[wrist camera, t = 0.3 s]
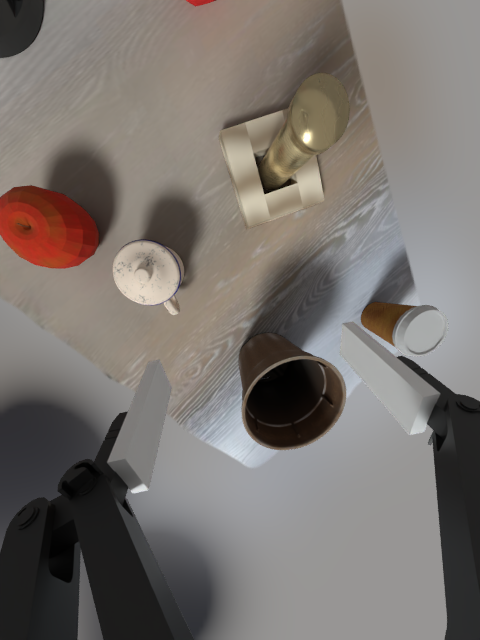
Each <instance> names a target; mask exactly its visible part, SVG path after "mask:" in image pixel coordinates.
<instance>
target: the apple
mask: <svg viewBox="0 0 480 640" xmlns="http://www.w3.org/2000/svg"><path fill="white" fill-rule="evenodd" d="M0 235H1V236H2V238H3V240H4V241H5V242H6V243H7V245H8V246H9V247H10V248H11V249H12V250H13V251H14V252H15V253H16V254H18V255H19V256H20V257H21V258H23V259H25V260H27V261H29V262H31V263H33V264H35V265H38V266H43V267H48V268H69V267H73V266H78V265H80V264H81V263H82V262H84V261H85V260H86V259H88V258H89V257H91V256H92V255H94V253H95V251H96V249H97V247H98V243H99V232H98V229H97V226H96V223H95V221H94V220H93V219H92V218H91V216H90V215H89V214H88V213H87V212H86V211H85V210H84V209H83V208H82V207H81V206H80V205H78V204H77V203H76V202H74V201H73V200H71V199H70V198H68V197H67V196H66V195H64V194H61V193H57V192H54V191H50V190H46V189H43V188H39V187H35V186H32V185H31V186H22V187H14V188H12V189H11V190H9V191H8V192H7V193H5V194H4V195H2V196H1V197H0Z"/></svg>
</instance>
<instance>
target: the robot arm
mask: <svg viewBox="0 0 480 640" xmlns="http://www.w3.org/2000/svg"><path fill="white" fill-rule="evenodd" d="M42 15H43V0H0V58H4V57H10V56H13V55H16V54H18V53H20V52H22V51H23V50H25V49H26V48H27V47H28V46H29V45H30V44H31V43H32V42H33V40H34V39H35V37H36V35H37V33H38V31H39V28H40V25H41V21H42ZM340 355H341V356H342V357H343V359H344V360H345V361H346V362H347V363H348V364H349V365H350V367H351V368H352V369H353V370H354V371H355V372H356V374H357V375H358V376H359V377H360V378H361V379H362V381H363V382H364V383H365V384H366V385H367V386H368V388H369V389H370V390H371V391H372V392H373V393H374V394H375V396H376V397H377V398H378V399H379V400H380V402H382V404H383V405H384V406H385V407H386V408H387V410H388V411H389V412H390V413H391V414H392V415H393V417H394V418H395V419H396V420H397V421H398V422H399V424H400V425H401V426H402V427H403V428H404V429H405V431H406V432H407V433H408V434H409V435H412V434H417V433H421V432H424V431H425V428H426V426H427V424H428V425H429V426H430V427H431V428H432V429H433V430H434V431H433V433H432V435H431V437H430V439H429V442H428V444H429V445H431V444H432V442H433V451H434V464H435V476H436V487H437V500H438V512H439V524H440V536H441V548H442V560H443V571H444V572H443V573H444V584H445V597H446V608H447V630H446V635H445V640H480V401H478V400H476V399H474V398H472V397H469V396H466V395H460V394H455V393H454V392H452V391H451V390H450V389H449V388H447V387H446V386H445V385H443V384H442V383H441V382H440V381H438V380H437V379H436V378H434V377H433V376H432V375H430V374H428V373H427V372H426V371H425V370H424V369H423V368H421V367H420V366H419V365H417V364H416V363H415V362H414V361H412V360H410V359H408V358H406V357H403V356H399V357H395V356H394V355H393V354H392V353H391V352H389V351H388V350H387V349H386V348H384V347H383V346H382V345H381V344H380V343H378V342H377V341H376V340H375V339H373V338H372V337H371V336H370V335H369V334H367V333H366V332H365V331H364V330H363V329H361V328H360V327H359V326H358V325H356V324H355V323H354V322H348V323H343V324H342V335H341V346H340ZM171 389H172V387H171V385H170V382H169V380H168V378H167V376H166V373H165V371H164V369H163V366H162V364H161V362H160V360H155V361H150V362H148V364H147V367H146V369H145V372H144V374H143V377H142V379H141V381H140V384H139V386H138V389H137V391H136V393H135V396H134V398H133V401H132V403H131V406H130V408H129V410H128V412H124V413H120V414H119V415H118V416H117V417H116V418H115V420H114V421H113V422H112V424H111V426H110V429H109V431H108V433H107V435H106V437H105V441H103V444H102V446H101V448H100V450H99V452H98V455H97V456H96V459H95V461H94V462H93V461H92V460H90V459H85V460H82V461H79V462H78V463H76V464H74V465H73V466H72V467H71V468H70V469H69V470H67V471H66V473H65V474H64V475H63V477H62V478H61V480H60V482H59V484H58V492H60V493H61V494H62V495H61V496H59V497H57V498H55V499H53V500H51V501H48V500H47V499H46V498H44V497H43V498H37V499H35V500H33V501H31V502H29V503H28V504H27V505H25V506H24V507H23V508H22V509H21V510H20V511H19V512H18V513H17V514H16V515H15V517H14V518H13V519H12V521H11V522H10V524H9V526H8V528H7V531H6V534H5V538H4V541H3V545H2V549H1V552H0V640H77V636H78V606H79V579H80V550H82V555H83V558H84V563H85V566H86V571H87V575H88V579H89V583H90V587H91V590H92V595H93V599H94V603H95V607H96V611H97V615H98V619H99V623H100V627H101V631H102V635H103V639H104V640H194V638H193V636H192V634H191V632H190V630H189V628H188V626H187V624H186V622H185V620H184V617H183V615H182V613H181V611H180V609H179V607H178V605H177V603H176V601H175V598H174V597H173V594H172V592H171V590H170V588H169V586H168V584H167V582H166V579H165V577H164V575H163V573H162V571H161V569H160V567H159V565H158V563H157V561H156V558H155V556H154V554H153V552H152V550H151V548H150V546H149V544H148V542H147V540H146V538H145V536H144V534H143V531H142V529H141V527H140V525H139V523H138V521H137V519H136V517H135V514H134V512H133V510H132V508H131V506H130V504H129V502H128V500H127V499H126V498H125V496H126V493H127V489H128V488H129V489H130V490H131V492H132V493H137V492H142V491H147V490H149V486H150V482H151V478H152V473H153V469H154V464H155V459H156V455H157V451H158V447H159V442H160V438H161V433H162V429H163V424H164V420H165V416H166V411H167V407H168V402H169V398H170V393H171Z"/></svg>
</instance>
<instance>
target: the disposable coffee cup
mask: <svg viewBox="0 0 480 640" xmlns="http://www.w3.org/2000/svg"><path fill="white" fill-rule="evenodd" d="M361 322H362V325H363V326H364V327H365V328H367V329H368V330H370V331H372V332H373V333H375V334H376V335H378V336H379V337H381V338H382V339H384V340H385V341H387V342H389V343H390V344H392V345H393V346H395V347H396V348H397V349H398V351H399V352H400V353H402V354H404V355H407V356H417V357H421V356H426V355H428V354H430V353H432V352H433V351H434V350H436V349H437V348H438V347H439V346H440V345H441V343H442V342H443V340H444V339H445V337H446V334H447V331H448V321H447V318H446V316H445V315H444V314H443V313H442V312H441V311H439V310H438V309H437V308H435V307H433V306H429V305H422V306H411V305H400V304H391V303H381V302H374V303H371V304H369V305H368V306H367V307H366V308H365V309H364V310H363V312H362V315H361Z"/></svg>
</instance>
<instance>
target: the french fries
mask: <svg viewBox="0 0 480 640" xmlns="http://www.w3.org/2000/svg"><path fill="white" fill-rule="evenodd" d="M186 1H188V2H189V3H191V4H193V5H194V6H199V5H203V4H207V3H210V2H213V1H216V0H186Z"/></svg>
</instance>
